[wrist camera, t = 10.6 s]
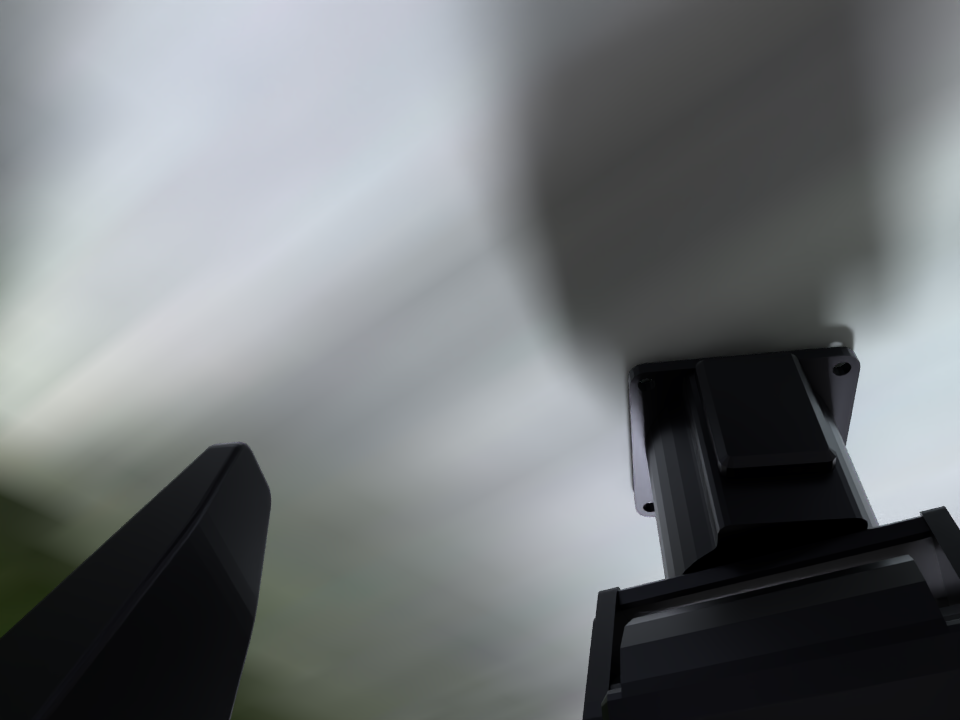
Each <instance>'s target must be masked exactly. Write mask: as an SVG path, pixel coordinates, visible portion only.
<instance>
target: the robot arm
mask: <svg viewBox="0 0 960 720" xmlns="http://www.w3.org/2000/svg"><path fill="white" fill-rule="evenodd" d="M841 362H846V363H845V364H843V365H842V366H839V367H834V366H835V365H837V364H838V363H841ZM859 372H860V362H859V360H858V358H857V356H856V354H855V353H854V351H853V350H852V349H850V348H847V347H831V348H820V349H808V350H797V351H785V352H773V353H762V354H750V355H738V356H727V357H715V358H703V359H692V360H680V361H669V362H657V363H645V364H641V365H638V366H636V367H634V368H633V369H632V370H631V371H630V373H629V377H628V382H629V402H630V422H631V441H632V461H633V481H634V500H635V507H636V511H637V512H638V513H639V514H640V515H642V516H645V517H656V521H657V528H658V534H659V541H660V547H661V554H662V560H663V567H664V573H665V579H663V580H659V581H654V582H650V583H646V584H642V585H638V586H634V587H630V588H626V589H622V590H620V588H619V587H616V588H612V589H608V590H603V591H599V593H598V600H597V609H596V618H595V619H594V621H593V629H592V638H591V647H590V656H589V666H588V675H587V684H586V693H585V702H584V711H583V720H960V529H959V528H958V526H957V525H956V523H955V522H954V520H953V518H952V517H951V515H950V514H949V512H948V511H947V509H946V507H945V506H942V507H938V508H934V509H930V510H926V511H922V512H920V515H921V516H918V517H914V518H910V519H906V520H902V521H898V522H894V523H890V524H886V525H882V526H879V524H878V521H877V519H876V517H875V514H874V512H873V510H872V507H871V505H870V503H869V500H868V498H867V496H866V493H865V491H864V488H863V486H862V484H861V481H860V479H859V477H858V474H857V472H856V470H855V467H854V465H853V463H852V460H851V458H850V456H849V453H848V451H847V449H846V441H847V436H848V431H849V425H850V420H851V415H852V409H853V404H854V398H855V393H856V388H857V382H858V377H859ZM646 378H647V379H652V380H651V381H650V382H647V383H642V382H640V381H641V380H643V379H646ZM649 502H653V503H649ZM270 510H271V493H270V489H269V486H268V483H267V481H266V479H265V477H264V475H263V473H262V471H261V469H260V466H259V464H258V462H257V460H256V458H255V456H254V454H253V452H252V450H251V448H250V447H249V446H248V445H247V444H246V443H243V442H232V443H219V444H214V445H212V446H210V447H208V448H207V449H206V450H205V451H204V452H203V453H202V454H200V455H199V456H198V457H197V458H196V459H195V460H194V461H193V462H192V463H191V464H190V465H188V466H187V467H186V468H185V469H184V470H183V471H182V472H181V473H180V474H179V475H178V476H177V477H175V478H174V479H173V480H172V481H171V482H170V483H169V484H168V485H167V486H166V487H165V488H163V489H162V490H161V491H160V492H159V493H158V494H157V495H156V496H155V497H154V498H153V499H151V500H150V501H149V502H148V503H147V504H146V505H145V506H144V507H143V508H142V509H141V510H139V511H138V512H137V513H136V514H135V515H134V516H133V517H132V518H131V519H130V520H129V521H128V522H126V523H125V524H124V525H123V526H122V527H121V528H120V529H119V530H118V531H117V532H116V533H114V534H113V535H112V536H111V537H110V538H109V539H108V540H107V541H106V542H105V543H104V544H102V545H101V546H100V547H99V548H98V549H97V550H96V551H95V552H94V553H93V554H92V555H91V556H89V557H88V558H87V559H86V560H85V561H84V562H83V563H82V564H81V565H80V566H79V567H77V568H76V569H75V570H74V571H73V572H72V573H71V574H70V575H69V576H68V577H67V578H65V579H64V580H63V581H62V582H61V583H60V584H59V585H58V586H57V587H56V588H55V589H54V590H52V591H51V592H50V593H49V594H48V595H47V596H46V597H45V598H44V599H43V600H42V601H40V602H39V603H38V604H37V605H36V606H35V607H34V608H33V609H32V610H31V611H30V612H28V613H27V614H26V615H25V616H24V617H23V618H22V619H21V620H20V621H19V622H18V623H16V624H15V625H14V626H13V627H12V628H11V629H10V630H9V631H8V632H7V633H6V634H5V635H3V636H2V637H1V638H0V720H230V718H231V714H232V710H233V706H234V702H235V698H236V694H237V690H238V687H239V683H240V679H241V675H242V671H243V667H244V663H245V659H246V655H247V651H248V647H249V643H250V639H251V635H252V631H253V626H254V622H255V616H256V610H257V604H258V598H259V590H260V583H261V576H262V569H263V561H264V554H265V547H266V540H267V532H268V525H269V518H270Z"/></svg>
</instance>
